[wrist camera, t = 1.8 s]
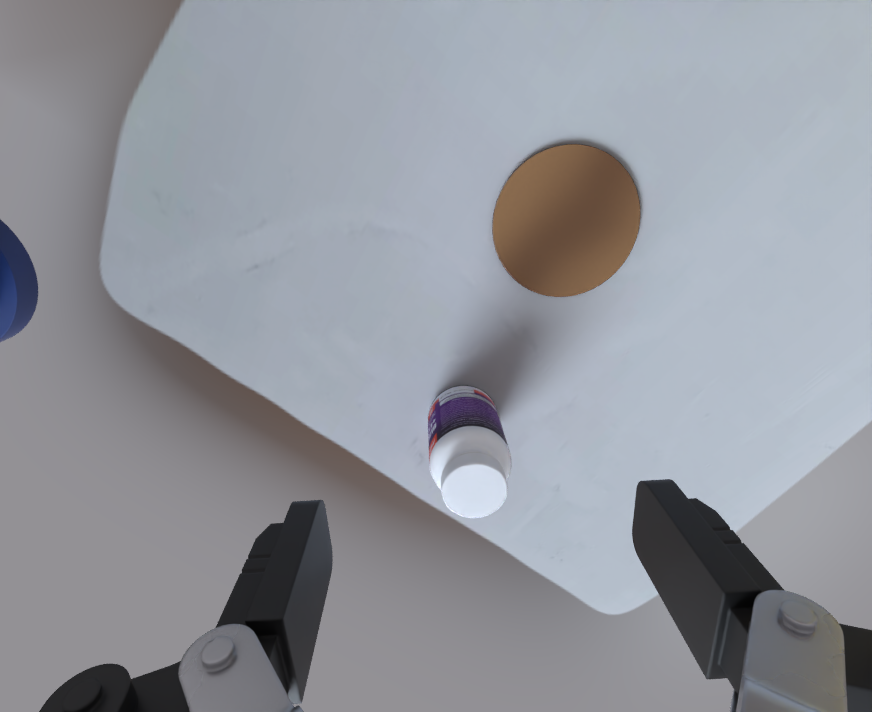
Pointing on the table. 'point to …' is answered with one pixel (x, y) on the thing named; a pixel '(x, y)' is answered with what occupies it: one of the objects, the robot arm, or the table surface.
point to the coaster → (566, 220)
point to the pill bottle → (468, 452)
